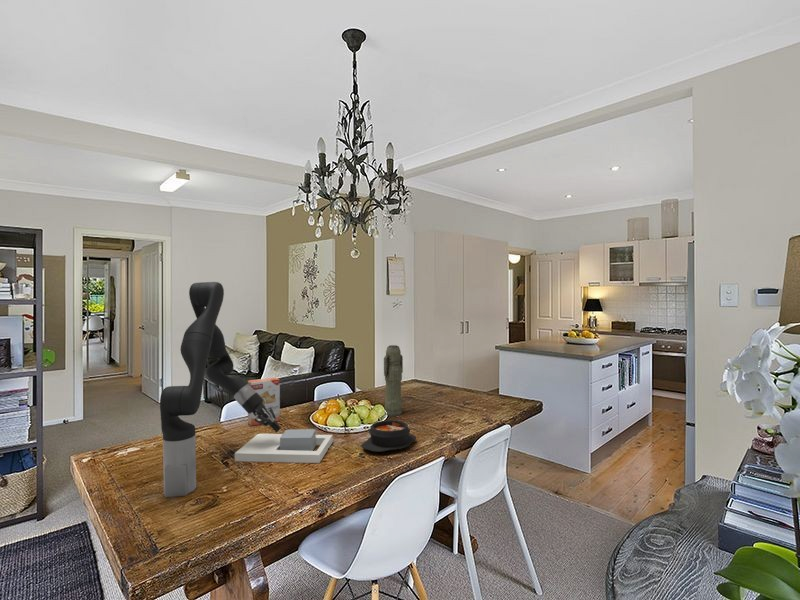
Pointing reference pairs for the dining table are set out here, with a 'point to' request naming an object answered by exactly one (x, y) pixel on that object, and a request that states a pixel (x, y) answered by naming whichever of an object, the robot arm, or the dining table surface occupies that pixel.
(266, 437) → the hole deck
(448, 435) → the dining table surface
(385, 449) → the casserole
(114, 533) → the dining table surface
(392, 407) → the stone statue
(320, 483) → the dining table surface
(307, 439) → the slate block
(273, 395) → the cracker box
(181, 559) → the dining table surface
